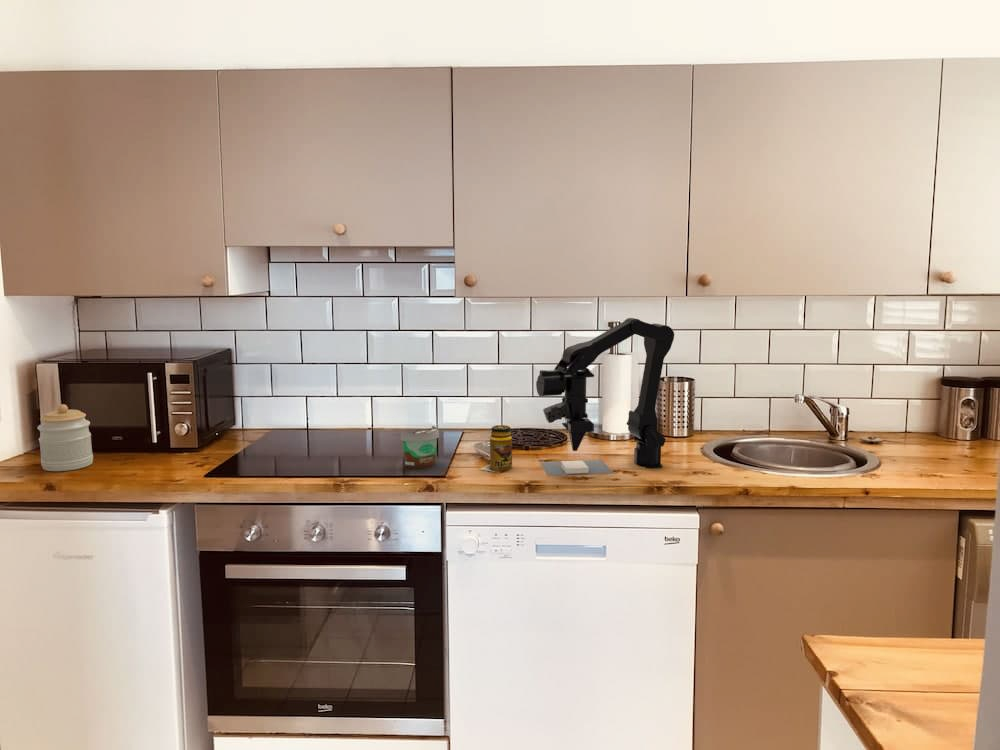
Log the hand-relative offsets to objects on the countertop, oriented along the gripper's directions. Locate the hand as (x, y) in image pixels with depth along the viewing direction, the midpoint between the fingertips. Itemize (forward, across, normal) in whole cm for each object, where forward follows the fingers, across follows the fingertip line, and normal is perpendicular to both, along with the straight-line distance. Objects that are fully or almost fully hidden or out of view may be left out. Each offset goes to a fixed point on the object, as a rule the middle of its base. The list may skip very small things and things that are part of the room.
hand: (574, 450), depth 214 cm
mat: (+6, -3, +1) cm, 7 cm away
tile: (+5, -3, 0) cm, 6 cm away
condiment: (+6, -6, -20) cm, 22 cm away
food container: (+6, -12, -40) cm, 42 cm away
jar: (+6, -25, -140) cm, 142 cm away
